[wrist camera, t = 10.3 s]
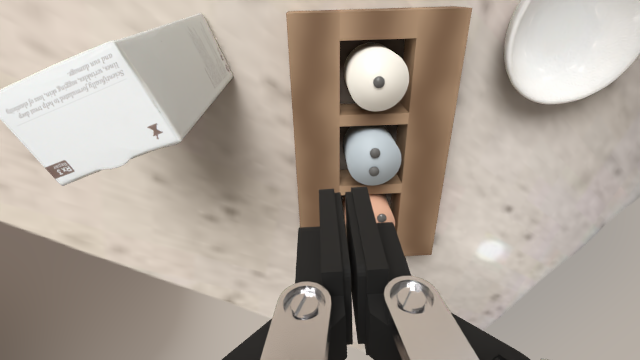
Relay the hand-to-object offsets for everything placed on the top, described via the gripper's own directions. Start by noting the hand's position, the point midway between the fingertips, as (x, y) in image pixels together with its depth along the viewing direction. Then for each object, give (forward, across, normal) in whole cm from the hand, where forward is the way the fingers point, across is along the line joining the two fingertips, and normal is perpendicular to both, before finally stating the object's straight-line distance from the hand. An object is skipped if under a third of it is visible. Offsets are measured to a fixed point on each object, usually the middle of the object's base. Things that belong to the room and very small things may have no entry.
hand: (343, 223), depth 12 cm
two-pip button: (+22, -4, +7) cm, 23 cm away
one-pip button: (+22, -4, 0) cm, 22 cm away
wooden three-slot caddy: (+22, -4, +7) cm, 23 cm away
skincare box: (+22, +13, -2) cm, 26 cm away
